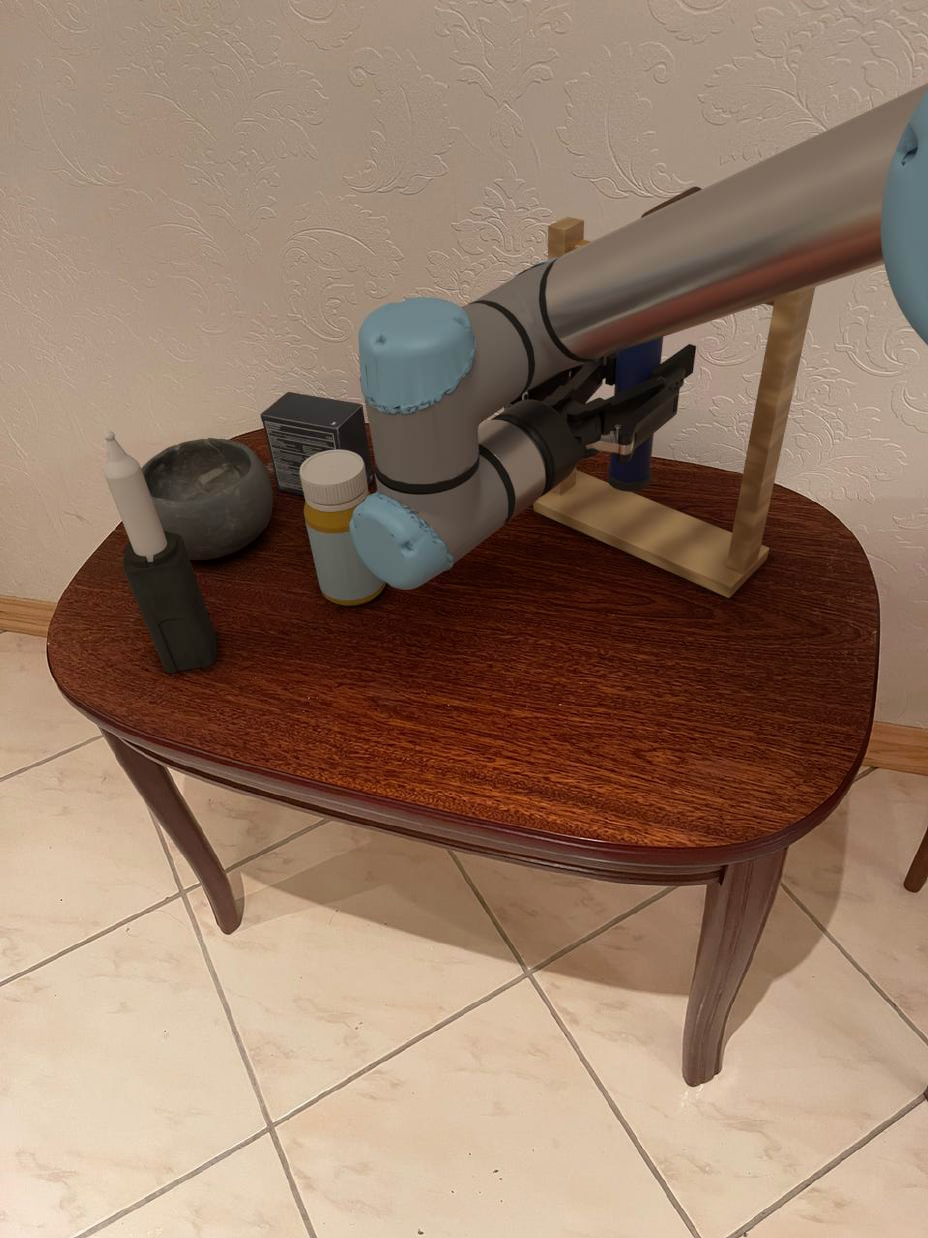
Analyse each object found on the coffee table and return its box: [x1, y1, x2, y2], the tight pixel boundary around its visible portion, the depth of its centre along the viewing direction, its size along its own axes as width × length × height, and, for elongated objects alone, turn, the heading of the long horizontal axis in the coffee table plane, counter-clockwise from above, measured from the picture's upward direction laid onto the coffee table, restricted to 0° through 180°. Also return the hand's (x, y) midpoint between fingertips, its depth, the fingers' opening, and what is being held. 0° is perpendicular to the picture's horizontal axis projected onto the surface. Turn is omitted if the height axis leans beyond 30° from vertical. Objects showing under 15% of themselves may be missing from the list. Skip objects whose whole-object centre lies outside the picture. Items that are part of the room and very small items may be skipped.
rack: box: [532, 216, 816, 599], centre depth 87 cm, size 25×8×31 cm, turn 48°
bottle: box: [300, 450, 387, 607], centre depth 89 cm, size 7×7×15 cm
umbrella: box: [606, 186, 703, 493], centre depth 82 cm, size 10×4×26 cm, turn 139°
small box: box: [259, 391, 374, 497], centre depth 105 cm, size 11×6×10 cm, turn 66°
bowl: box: [141, 437, 274, 561], centre depth 98 cm, size 15×15×10 cm
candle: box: [103, 430, 217, 675], centre depth 79 cm, size 5×5×25 cm
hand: (668, 351), depth 84 cm, fingers closed on umbrella, 4 cm apart
